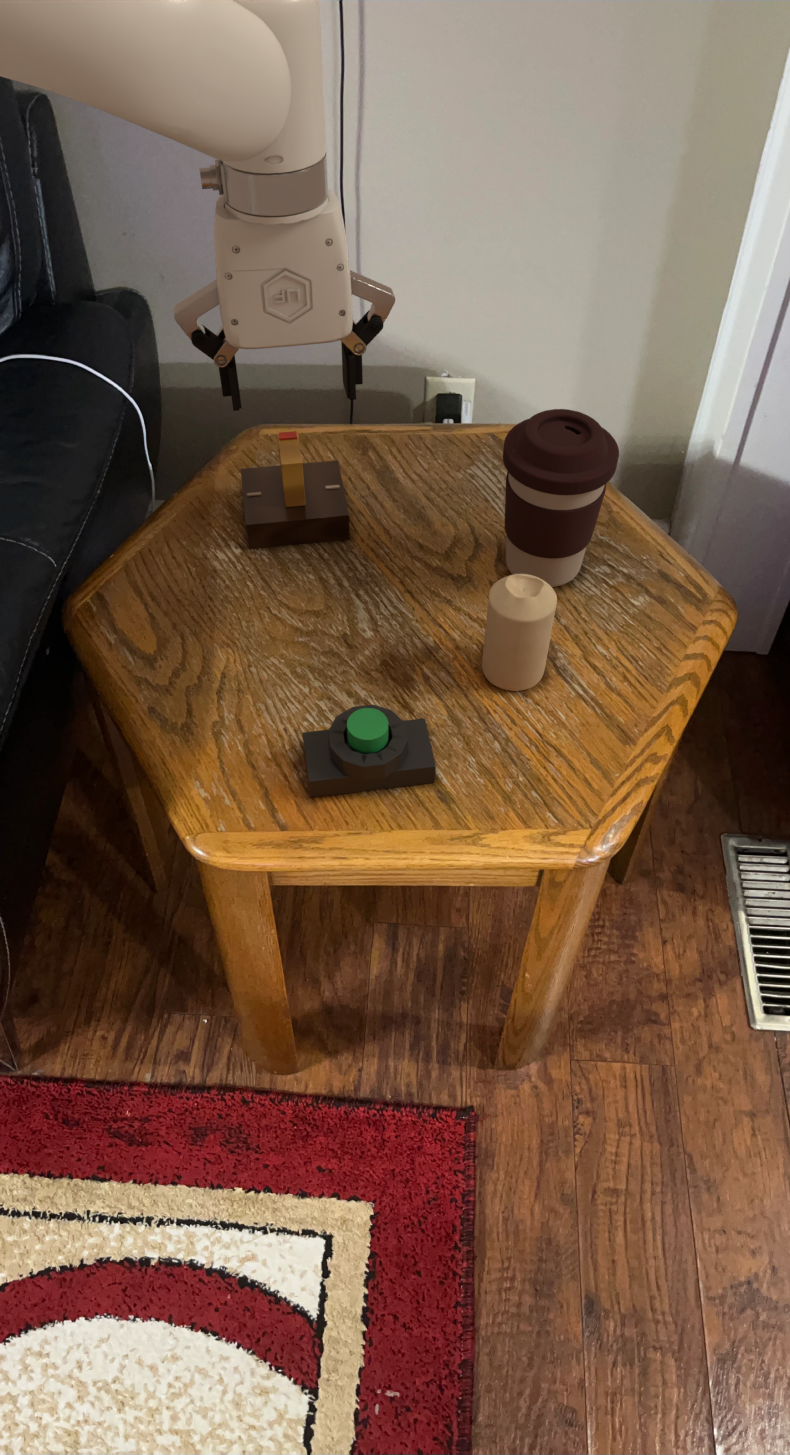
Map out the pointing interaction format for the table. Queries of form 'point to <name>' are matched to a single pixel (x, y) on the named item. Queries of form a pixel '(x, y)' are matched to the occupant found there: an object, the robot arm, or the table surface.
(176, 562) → the table surface
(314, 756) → the dark grey button housing
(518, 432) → the coffee cup
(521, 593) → the candle
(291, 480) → the thumbturn
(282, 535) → the plate
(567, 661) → the table surface
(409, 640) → the table surface
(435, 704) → the table surface
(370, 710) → the arm button
